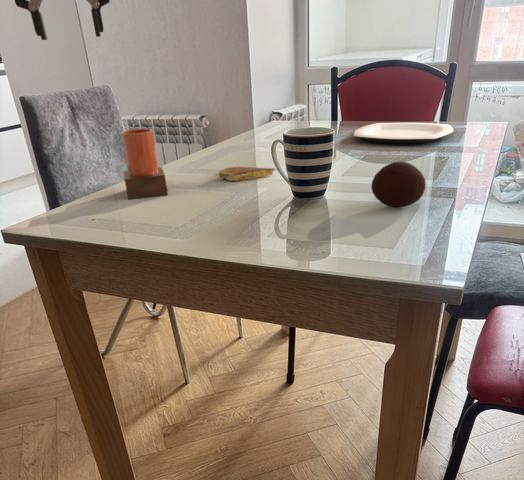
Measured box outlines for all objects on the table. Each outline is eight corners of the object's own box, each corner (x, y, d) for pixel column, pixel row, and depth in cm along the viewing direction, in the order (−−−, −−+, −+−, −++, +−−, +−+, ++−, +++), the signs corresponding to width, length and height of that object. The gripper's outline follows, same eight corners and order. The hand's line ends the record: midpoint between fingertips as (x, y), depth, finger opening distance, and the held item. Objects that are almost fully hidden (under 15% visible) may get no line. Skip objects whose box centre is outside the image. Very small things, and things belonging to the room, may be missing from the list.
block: (128, 199, 103) (124, 179, 101) (127, 190, 109) (123, 170, 107) (167, 195, 104) (164, 175, 102) (164, 185, 111) (161, 166, 109)
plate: (370, 128, 160) (370, 121, 159) (459, 130, 150) (460, 123, 148) (341, 144, 140) (342, 136, 139) (442, 148, 129) (443, 140, 128)
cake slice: (275, 175, 114) (274, 167, 113) (261, 183, 108) (261, 175, 107) (231, 173, 118) (231, 165, 117) (216, 181, 112) (215, 172, 111)
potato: (417, 216, 85) (423, 168, 81) (363, 211, 88) (366, 165, 84) (427, 203, 91) (433, 158, 87) (376, 199, 94) (379, 155, 90)
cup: (129, 177, 102) (121, 135, 97) (129, 171, 107) (121, 130, 102) (159, 174, 103) (153, 132, 99) (157, 168, 108) (151, 127, 103)
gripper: (94, -87, 79) (116, 36, 87) (-3, -85, 76) (29, 41, 85) (93, -98, 73) (116, 35, 81) (-13, -97, 70) (22, 40, 79)
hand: (71, 38), depth 83 cm, fingers open, 8 cm apart
